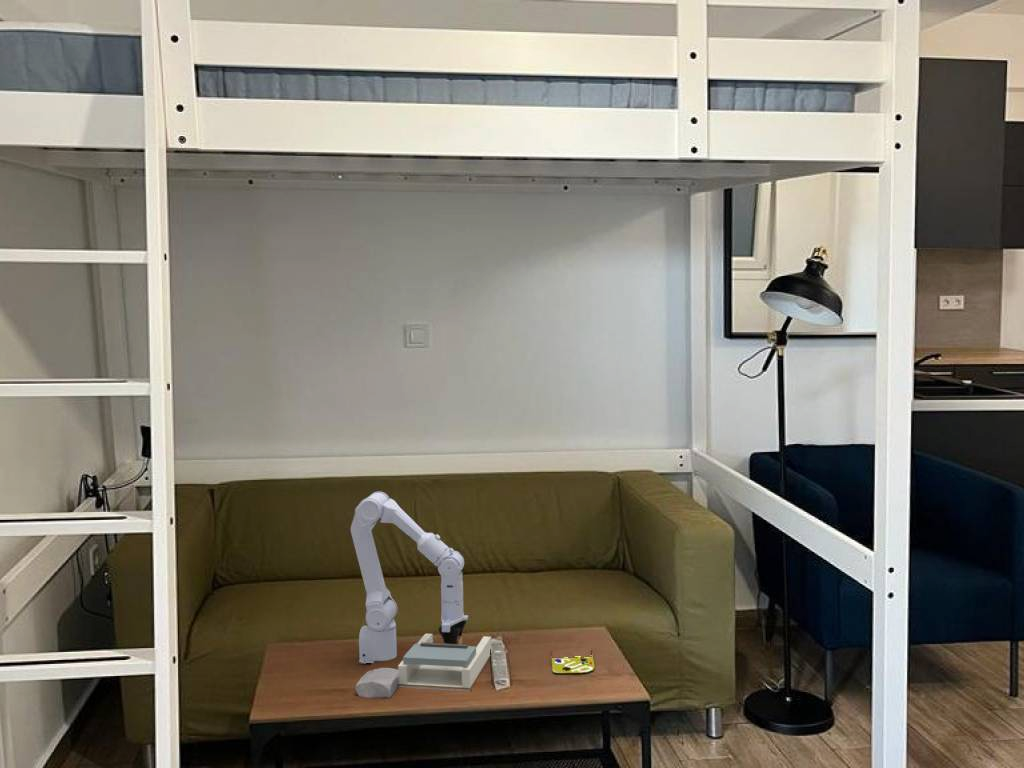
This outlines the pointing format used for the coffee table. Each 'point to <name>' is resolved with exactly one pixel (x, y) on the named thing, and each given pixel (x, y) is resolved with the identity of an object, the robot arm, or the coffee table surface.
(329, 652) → the coffee table surface
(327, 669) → the coffee table surface
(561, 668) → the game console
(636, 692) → the coffee table surface
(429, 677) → the white sliding box
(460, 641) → the block
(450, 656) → the slide cover
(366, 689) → the stone block
